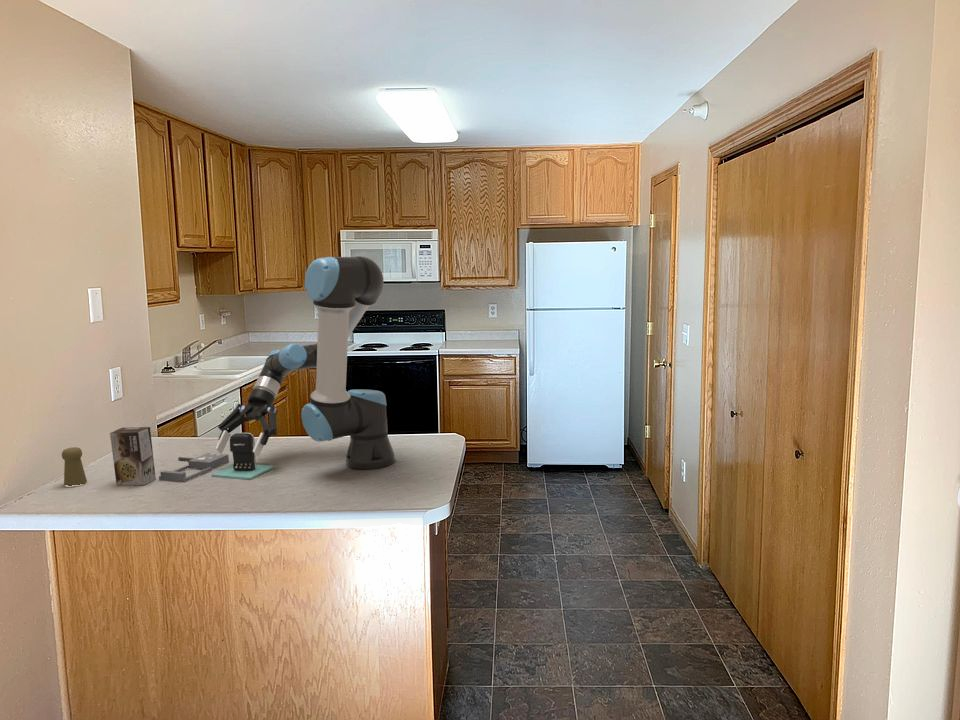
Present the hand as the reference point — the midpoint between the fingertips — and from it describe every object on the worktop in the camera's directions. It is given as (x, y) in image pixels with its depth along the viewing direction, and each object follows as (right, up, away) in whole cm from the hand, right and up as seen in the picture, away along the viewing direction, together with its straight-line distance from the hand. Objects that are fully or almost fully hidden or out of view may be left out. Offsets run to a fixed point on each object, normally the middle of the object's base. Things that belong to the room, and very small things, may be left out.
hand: (236, 452), depth 207 cm
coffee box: (-29, -9, -3) cm, 30 cm away
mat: (+1, -6, +3) cm, 7 cm away
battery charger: (+1, -6, +3) cm, 7 cm away
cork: (-47, -9, -3) cm, 48 cm away
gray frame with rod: (-19, -6, +8) cm, 22 cm away
